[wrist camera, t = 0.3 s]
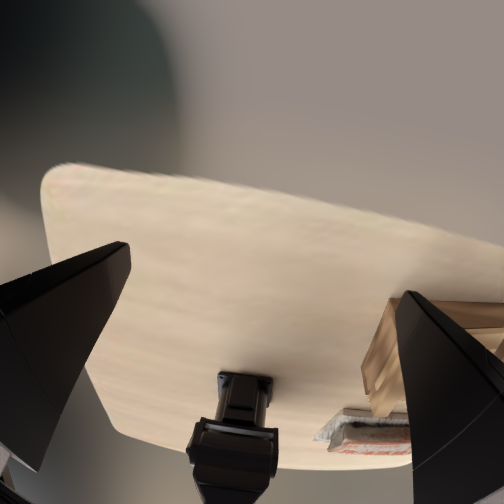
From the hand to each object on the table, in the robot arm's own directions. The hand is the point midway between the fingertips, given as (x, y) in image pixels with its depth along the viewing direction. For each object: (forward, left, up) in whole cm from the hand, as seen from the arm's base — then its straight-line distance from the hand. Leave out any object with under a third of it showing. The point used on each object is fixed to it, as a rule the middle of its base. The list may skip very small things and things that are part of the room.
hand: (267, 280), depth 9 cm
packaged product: (-37, -19, -15) cm, 44 cm away
